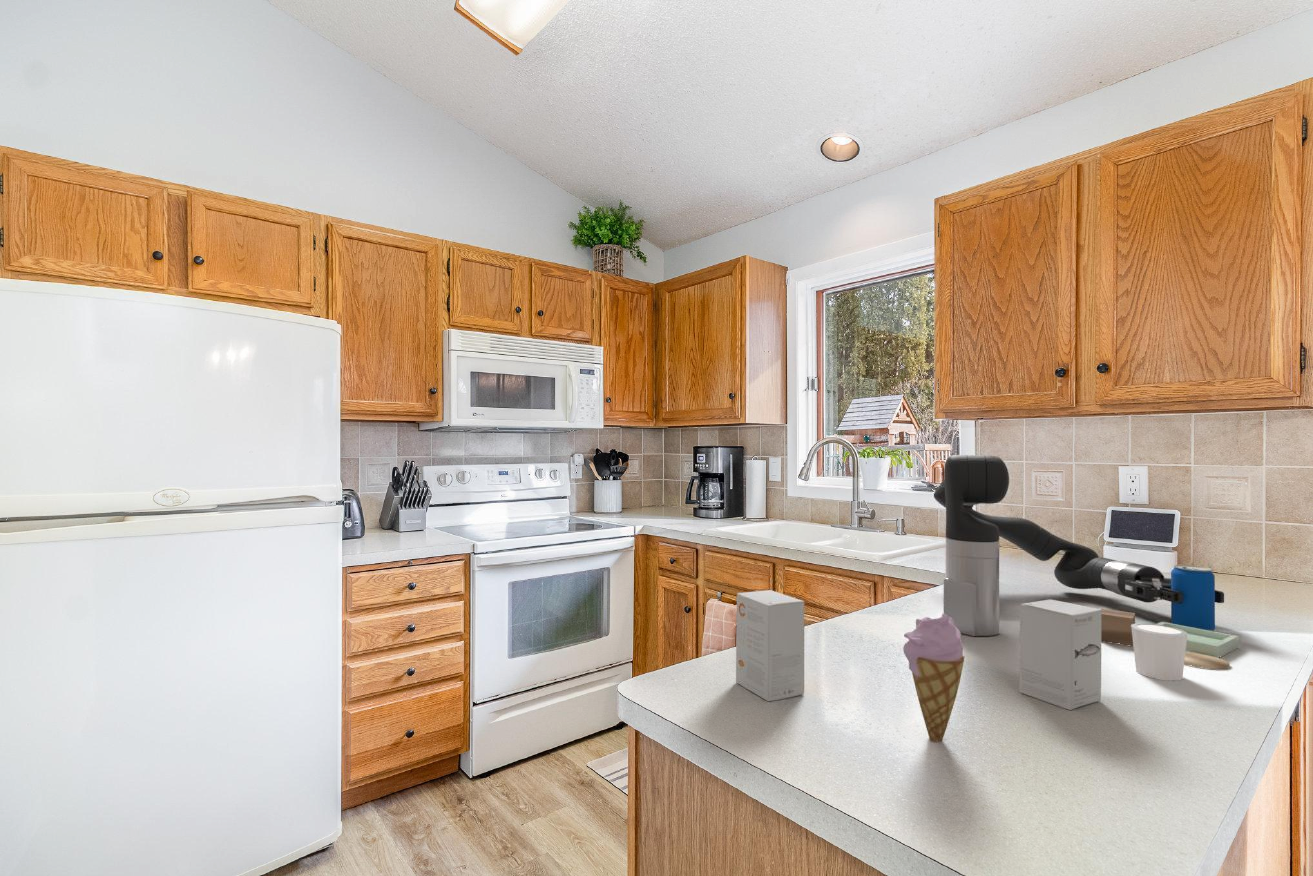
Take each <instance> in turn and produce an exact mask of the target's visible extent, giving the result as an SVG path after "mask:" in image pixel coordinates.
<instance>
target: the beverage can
mask: <svg viewBox="0 0 1313 876" xmlns="http://www.w3.org/2000/svg"><path fill="white" fill-rule="evenodd" d="M1173 567H1174V568H1173V569H1172V570H1171V571H1170V578H1171V590H1175V591H1179V592H1181V593H1182V594H1183V602H1182V603H1174V602H1170V609H1171V610H1170V614H1171V615H1170V618H1171V619H1170V621H1171V622H1170V623H1171V624H1177V625H1182V626H1187V627H1193V628H1198V629H1203V630H1209V631H1214V630H1215V629H1216V612H1215V611H1216V602H1215V590H1216V586H1215V585H1216V583H1215V582H1216V581H1215V580H1216V578H1215V574H1214V573H1213V571H1212V570H1213V569H1212V568H1209V567H1205V566H1202V565H1201V566H1199V565H1192V564H1191V565H1190V564H1175V565H1173Z"/></svg>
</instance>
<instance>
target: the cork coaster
mask: <svg viewBox="0 0 1313 876" xmlns="http://www.w3.org/2000/svg"><path fill="white" fill-rule="evenodd" d="M1184 664H1186V665H1185V666H1187V665H1192V666H1195V667H1194V668H1197V667H1203V668H1202V669H1204V668H1209V669H1208V670H1214V669H1223V670H1228V669H1229V668H1230V662H1228V661H1227V660H1225V659H1222V658H1221V657H1220V658H1217V657H1214V656H1210V655H1206V654H1201V653H1195V652H1188V651H1185V660H1184ZM1192 666H1191V667H1192ZM1227 668H1228V669H1227Z"/></svg>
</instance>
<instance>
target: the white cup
mask: <svg viewBox="0 0 1313 876" xmlns="http://www.w3.org/2000/svg"><path fill="white" fill-rule="evenodd" d="M1156 624H1157V623H1145V622H1144V623H1143V622H1142V623H1135V624H1132V625H1131V629H1132V638H1133V647H1132V648H1133V653H1134V654H1133V655H1134V663H1135V672H1136V673H1138V674H1139V675H1141V674H1142V676H1145V677H1147V676H1148V677H1147V678H1150V677H1151V678H1152V679H1154V678H1155V680H1162V681H1167V680H1180V681H1181V679H1182V680H1183V675H1184V667H1185V665H1184V660H1185V651H1186V642H1187V632H1185V631H1183V630H1180V629H1177V628H1173V627H1168V626H1163V625H1156Z"/></svg>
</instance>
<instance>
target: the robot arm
mask: <svg viewBox="0 0 1313 876" xmlns="http://www.w3.org/2000/svg"><path fill="white" fill-rule="evenodd" d="M943 472H944V473H943V475H944V476H943V478H944V479H943V480H942V482H940V484H939V485H938V487H937V488H936V490H935V491H934V493H933V498H934V500H935V501H936V502H937V503H938V504H940V505H941V506H942V507H944V508H945V578H944V579H943V613H944V614H946V615H947V616H948V617H951V618H952V619H953V622H954V626H955V627H956V628H957V629H958V630H959V631H960V633H961V634H963V635H967V636H971V637H978V636H980V637H981V636H984V637H985V636H987V637H989V636H995V635H998V634H1000V537H1001V538H1002V539H1005V540H1006V541H1007V542H1010V543H1011V544H1013V545H1014V546H1016V547H1017V548H1019V549H1021V550H1022V551H1024V552H1026V553H1027V554H1028V555H1030V556H1032V557H1034V559H1035V558H1036V559H1037V560H1039V561H1042V562H1046V561H1047V562H1048V561H1049V560H1051V559H1052V558H1053V557H1055V555H1057V554H1058V553H1059V552H1060V551H1062V552H1064V554H1063V555H1062V557H1061V559H1060V560H1059V561H1058V562H1057V565H1056V566H1055V567H1054V569H1053V573H1054V577H1055V579H1056V580H1057V582H1059V583H1060V584H1062V585H1063V586H1064V587H1067V588H1072V589H1074V590H1075V589H1076V590H1089V589H1091V590H1092V589H1102V590H1105V591H1109V592H1112V593H1114V594H1116V595H1118V596H1122V597H1126V598H1129V599H1132V600H1135V601H1140V602H1142V603H1143V602H1144V603H1154V602H1157V601H1162V600H1164V601H1167V602H1170V603H1171V602H1174V603H1182V602H1183V594H1182V593H1181V592H1179V591H1175V590H1171V577H1165V576H1164V574H1163V573H1162V572H1161V570H1159V569H1158V568H1155V567H1153V566H1149V565H1145V564H1139V563H1135V562H1130V561H1126V560H1125V561H1124V560H1117V559H1116V560H1115V559H1111V558H1107V557H1100V556H1099V554H1098V552H1096V551H1095V550H1094V549H1092V548H1090V547H1088V546H1085V545H1082V544H1078V543H1075V542H1071V541H1070V540H1066V539H1064V538H1061V537H1059V536H1057V535H1055V534H1053V533H1051V532H1050V531H1048V530H1047V529H1045V528H1044V527H1042V526H1040V525H1039V524H1037V523H1035V522H1034V521H1032V520H1030V519H1026V518H1021V517H1014V516H1013V517H1012V516H997V515H989V514H984V513H982V512H979V511H976V510H974V509H973V507H974V506H976V505H981V504H985V505H986V504H989V505H991V504H992V505H993V504H999V503H1000V502H1002V500H1003V499H1004V498H1005V497H1006V495H1007V493H1008V491H1009V490H1008V489H1009V486H1010V474H1009V470H1008V467H1007V465H1006V463H1005V462H1004V460H1003V459H1002V458H1000V457H998V456H995V455H990V454H989V455H988V454H987V455H984V454H953V455H950V456H948V457H947V459H946V460H945V463H944V469H943ZM1224 603H1225V593H1224V592H1223V591H1221V590H1216V589H1215V604H1224Z"/></svg>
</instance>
